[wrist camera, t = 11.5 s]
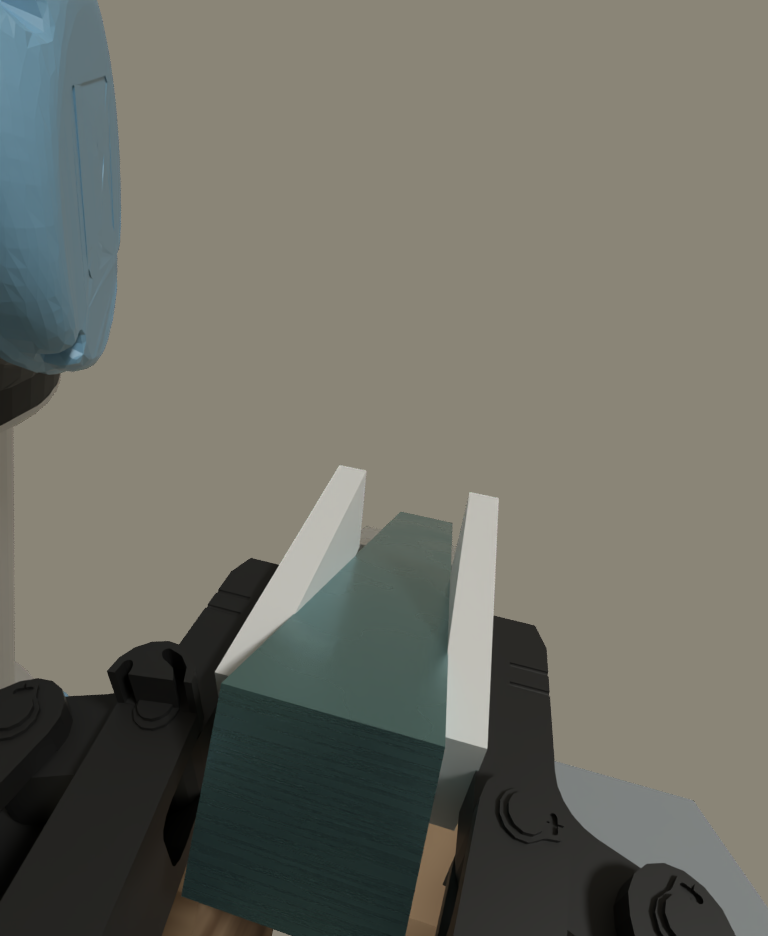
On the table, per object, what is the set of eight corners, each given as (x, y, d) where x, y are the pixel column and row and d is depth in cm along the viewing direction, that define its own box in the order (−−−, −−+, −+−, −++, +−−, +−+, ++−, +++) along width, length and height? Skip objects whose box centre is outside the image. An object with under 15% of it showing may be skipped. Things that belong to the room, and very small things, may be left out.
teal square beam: (3, 833, 6) (38, 630, 6) (364, 534, 32) (372, 493, 32) (626, 1054, 5) (683, 815, 5) (483, 561, 31) (492, 519, 31)
